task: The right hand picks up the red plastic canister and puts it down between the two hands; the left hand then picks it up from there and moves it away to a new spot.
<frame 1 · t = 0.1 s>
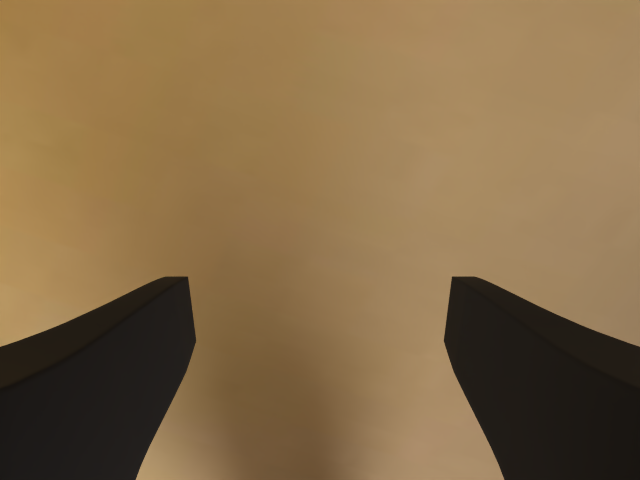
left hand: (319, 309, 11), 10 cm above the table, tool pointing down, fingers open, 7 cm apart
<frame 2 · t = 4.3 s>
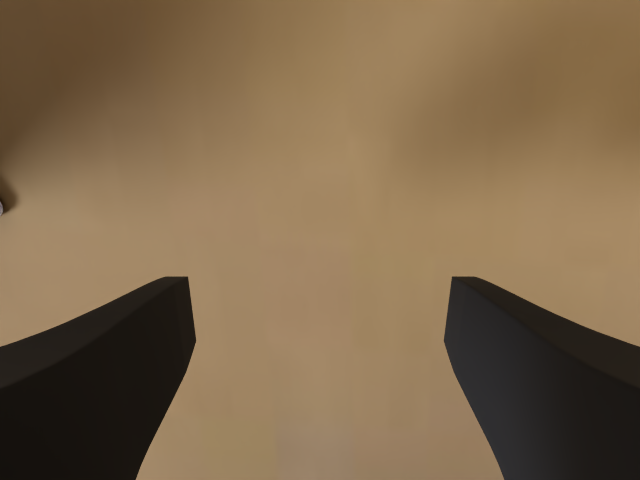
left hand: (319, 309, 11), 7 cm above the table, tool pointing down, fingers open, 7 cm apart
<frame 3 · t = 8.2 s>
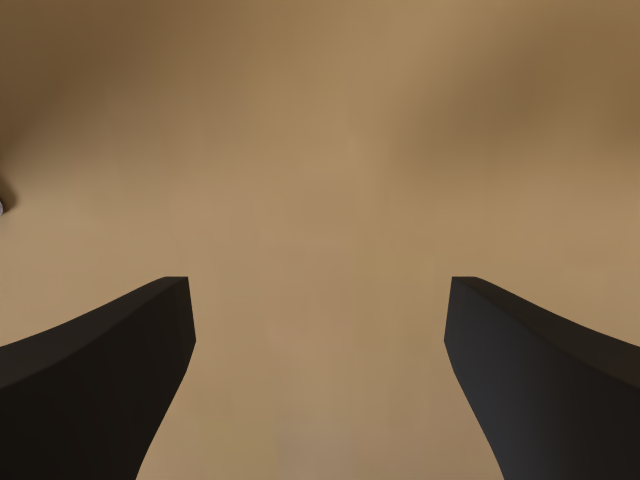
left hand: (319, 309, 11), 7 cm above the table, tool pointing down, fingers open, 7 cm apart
when the right hand's fingers open (1 cm above the table, at t = 12.0 s): canister drops 1 cm, on the table.
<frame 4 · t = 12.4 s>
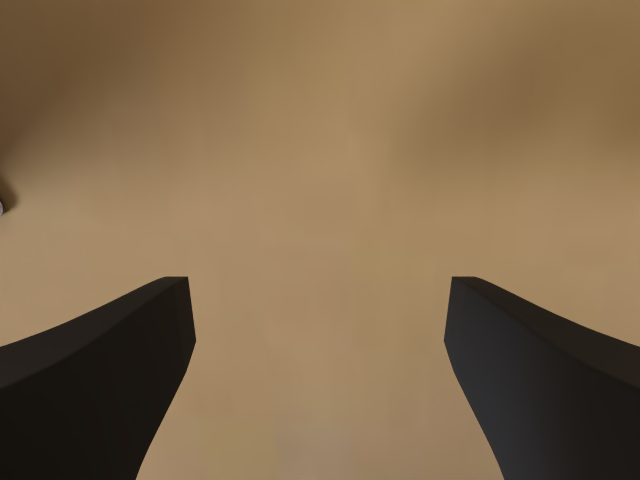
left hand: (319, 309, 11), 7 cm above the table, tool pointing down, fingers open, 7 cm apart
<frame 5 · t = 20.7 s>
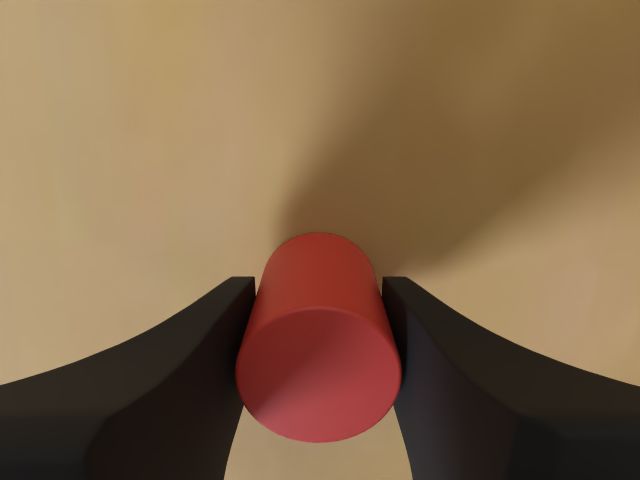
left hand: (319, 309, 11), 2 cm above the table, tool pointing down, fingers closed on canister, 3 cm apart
canister: (318, 284, 12), on the table, touching left hand
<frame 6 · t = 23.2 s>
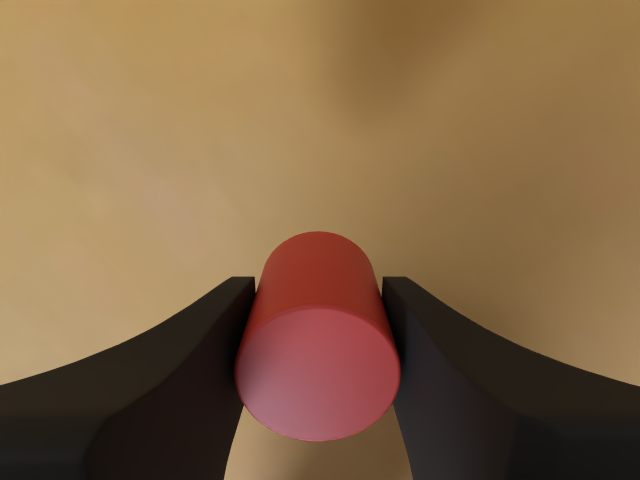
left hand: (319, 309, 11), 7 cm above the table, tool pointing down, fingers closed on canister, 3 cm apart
canister: (318, 283, 12), point 5 cm above the table, touching left hand
when the left hand's fingers open (3 cm above the table, at t = 25.8 s): canister drops 1 cm, on the table.
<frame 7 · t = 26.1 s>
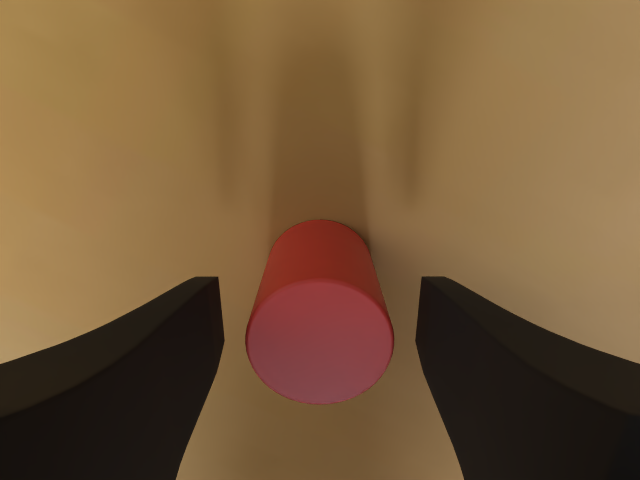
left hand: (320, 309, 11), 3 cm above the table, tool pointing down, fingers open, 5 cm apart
canister: (319, 268, 13), on the table
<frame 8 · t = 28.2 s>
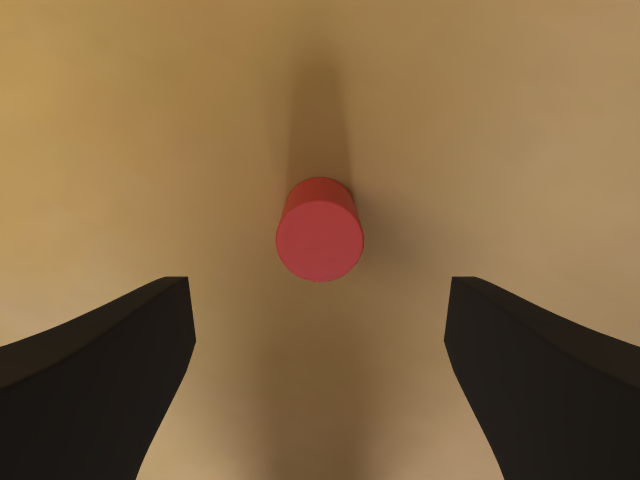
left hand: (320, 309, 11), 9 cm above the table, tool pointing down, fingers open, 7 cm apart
canister: (319, 211, 20), on the table
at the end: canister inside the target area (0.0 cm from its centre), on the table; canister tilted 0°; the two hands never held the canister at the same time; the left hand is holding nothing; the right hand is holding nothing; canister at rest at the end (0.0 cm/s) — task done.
